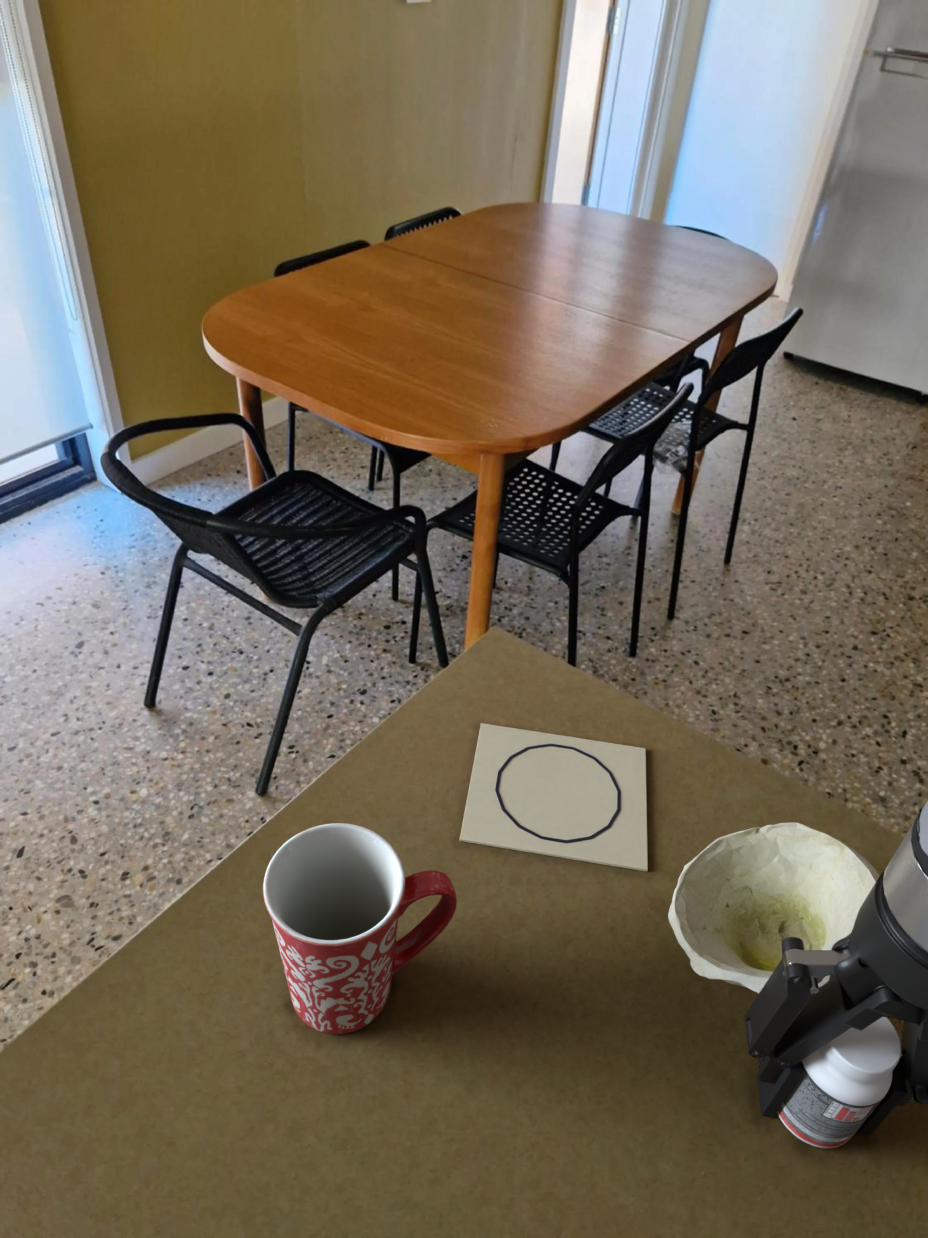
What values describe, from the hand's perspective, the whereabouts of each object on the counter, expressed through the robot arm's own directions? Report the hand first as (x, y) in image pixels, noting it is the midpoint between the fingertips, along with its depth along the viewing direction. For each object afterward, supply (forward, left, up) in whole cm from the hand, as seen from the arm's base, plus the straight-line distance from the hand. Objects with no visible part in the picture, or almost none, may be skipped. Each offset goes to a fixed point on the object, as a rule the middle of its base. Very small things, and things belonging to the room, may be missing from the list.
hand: (812, 1104), depth 61 cm
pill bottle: (0, 0, 0) cm, 0 cm away
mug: (+3, +32, 0) cm, 32 cm away
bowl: (+11, +3, 0) cm, 11 cm away
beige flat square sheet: (+24, +19, 0) cm, 31 cm away
